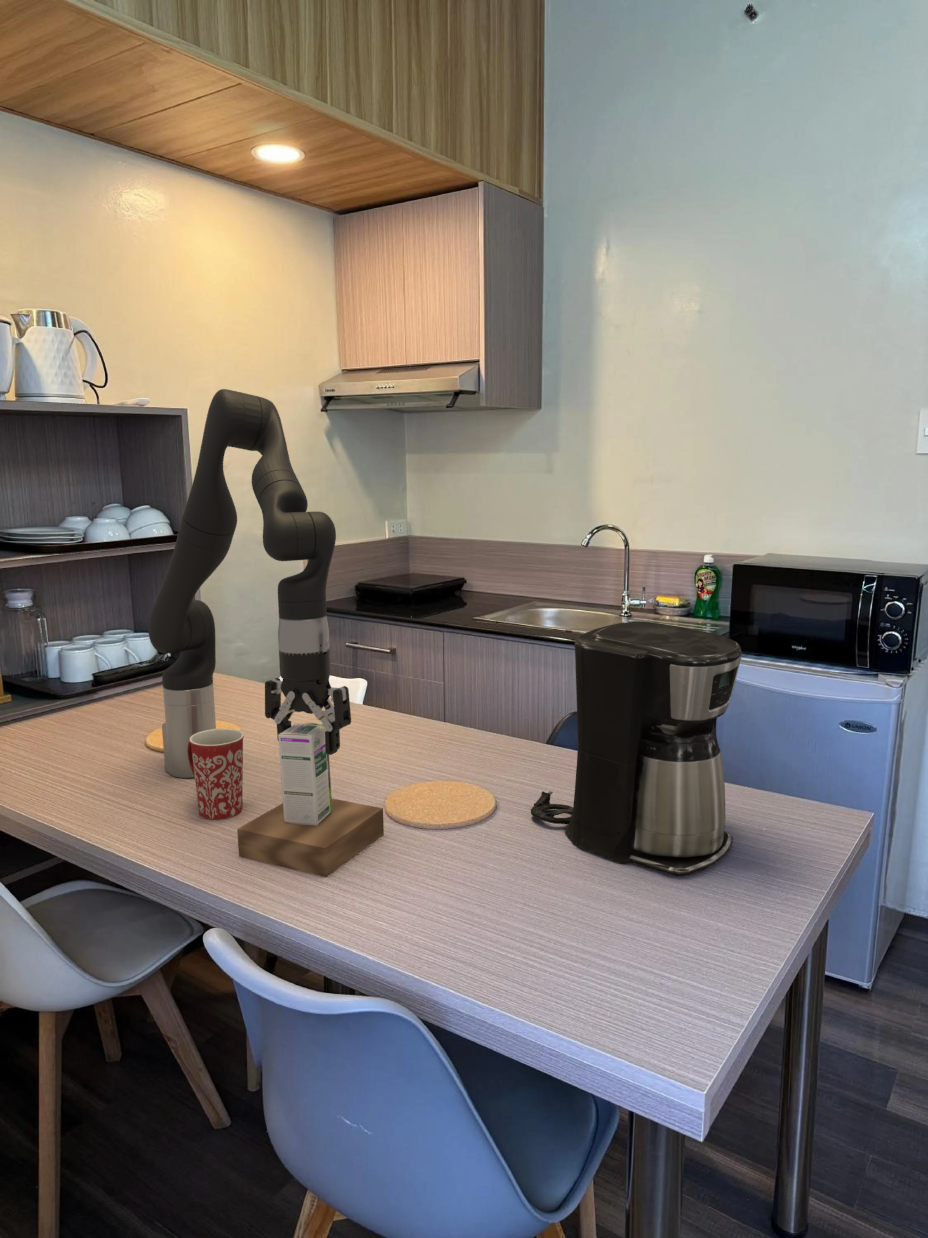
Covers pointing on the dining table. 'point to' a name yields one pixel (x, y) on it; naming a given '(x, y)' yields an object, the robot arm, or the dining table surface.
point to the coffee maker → (650, 746)
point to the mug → (217, 771)
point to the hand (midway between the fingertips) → (308, 749)
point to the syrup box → (305, 774)
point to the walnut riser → (311, 838)
